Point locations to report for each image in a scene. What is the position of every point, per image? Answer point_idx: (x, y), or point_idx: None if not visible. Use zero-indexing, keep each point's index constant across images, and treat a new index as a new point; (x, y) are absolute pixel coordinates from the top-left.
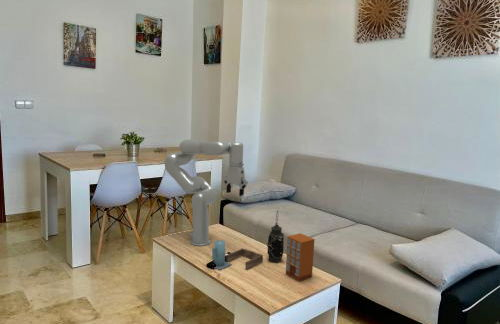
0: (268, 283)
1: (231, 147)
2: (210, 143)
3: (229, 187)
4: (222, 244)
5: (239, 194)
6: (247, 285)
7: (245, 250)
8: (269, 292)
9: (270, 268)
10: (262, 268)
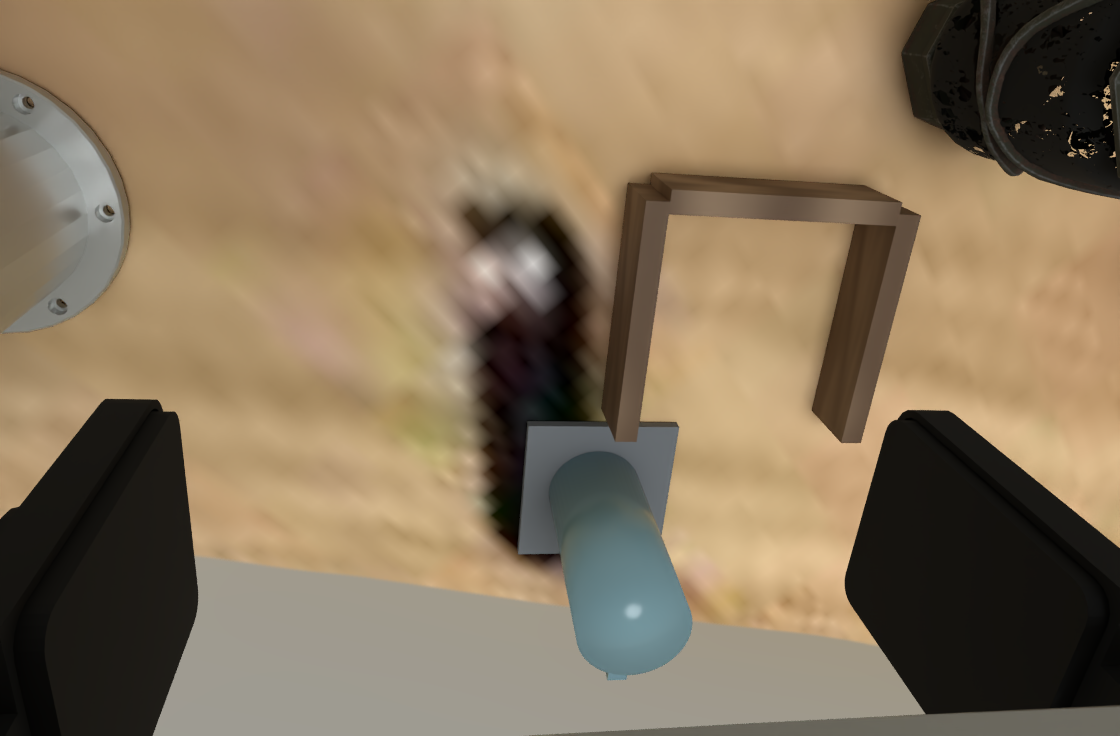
0: (1047, 469)
1: None
2: None
3: (100, 674)
4: (684, 636)
5: (879, 631)
6: None
7: (697, 214)
8: None
9: (987, 258)
10: (926, 303)
